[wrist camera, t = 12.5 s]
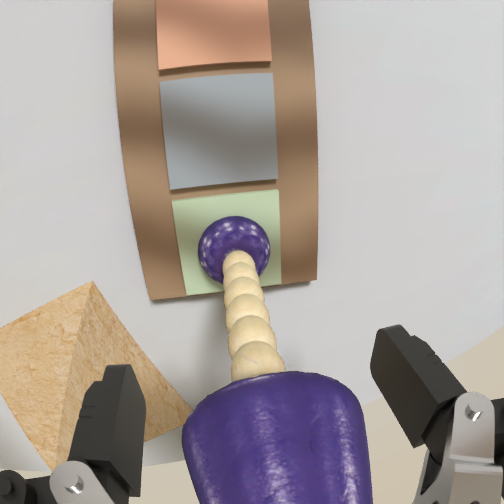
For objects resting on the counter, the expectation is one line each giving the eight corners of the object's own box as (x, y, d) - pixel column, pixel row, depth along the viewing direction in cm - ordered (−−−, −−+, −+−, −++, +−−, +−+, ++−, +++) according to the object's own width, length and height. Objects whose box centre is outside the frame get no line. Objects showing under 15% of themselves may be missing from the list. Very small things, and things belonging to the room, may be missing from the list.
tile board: (117, -11, 13) (112, -19, 12) (300, -23, 14) (307, -31, 13) (151, 292, 21) (149, 303, 20) (311, 273, 22) (318, 282, 21)
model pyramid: (-28, 339, 21) (-74, 411, 12) (94, 272, 20) (42, 374, 11) (74, 443, 28) (60, 514, 19) (202, 414, 27) (210, 507, 18)
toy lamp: (179, 266, 19) (167, 583, 4) (206, 194, 18) (242, 553, 2) (252, 289, 20) (338, 569, 5) (283, 223, 19) (464, 499, 4)
